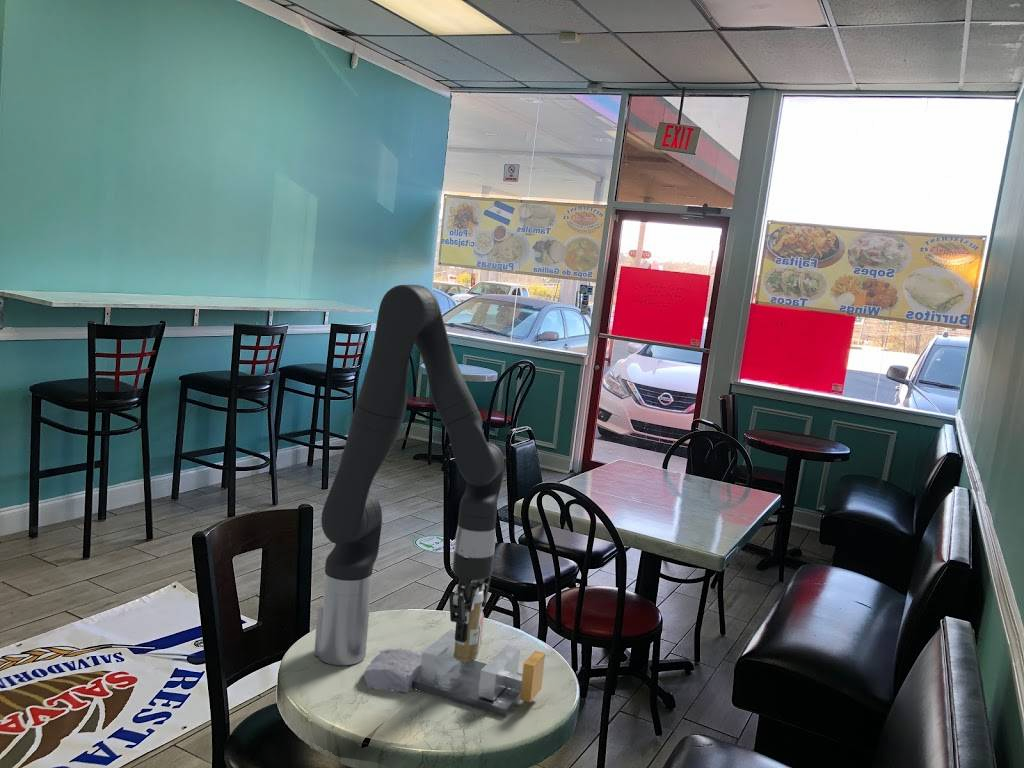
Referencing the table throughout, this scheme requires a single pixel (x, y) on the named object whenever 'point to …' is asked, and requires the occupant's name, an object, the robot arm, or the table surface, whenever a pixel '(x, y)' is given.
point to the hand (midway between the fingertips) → (466, 635)
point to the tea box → (480, 631)
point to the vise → (459, 679)
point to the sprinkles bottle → (470, 634)
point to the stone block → (393, 670)
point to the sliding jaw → (512, 674)
